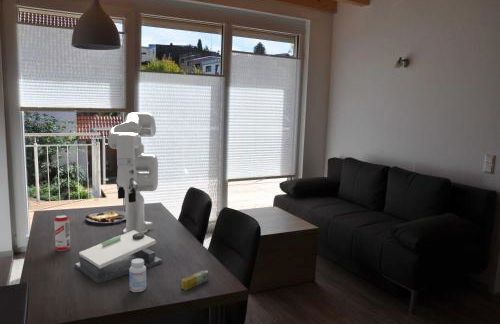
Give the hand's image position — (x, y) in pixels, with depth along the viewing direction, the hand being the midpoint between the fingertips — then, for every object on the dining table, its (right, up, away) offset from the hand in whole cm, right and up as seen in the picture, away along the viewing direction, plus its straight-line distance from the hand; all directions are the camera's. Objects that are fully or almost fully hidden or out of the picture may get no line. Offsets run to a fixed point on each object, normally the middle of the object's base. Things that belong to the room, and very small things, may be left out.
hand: (126, 200), depth 181 cm
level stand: (-1, -27, -6) cm, 28 cm away
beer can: (-33, -24, +10) cm, 42 cm away
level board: (-1, -20, -7) cm, 22 cm away
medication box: (+33, -31, -22) cm, 51 cm away
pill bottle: (+13, -31, -27) cm, 43 cm away
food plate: (-28, -17, +58) cm, 66 cm away
